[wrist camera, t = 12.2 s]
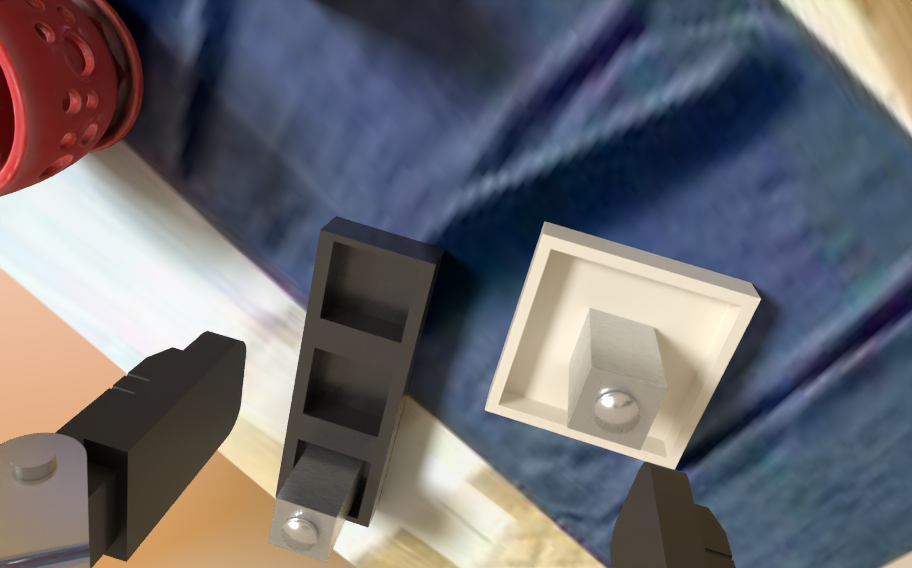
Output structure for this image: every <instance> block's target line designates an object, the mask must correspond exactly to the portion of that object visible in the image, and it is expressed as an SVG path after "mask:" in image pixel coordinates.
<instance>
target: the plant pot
mask: <svg viewBox="0 0 912 568" xmlns="http://www.w3.org/2000/svg"><path fill="white" fill-rule="evenodd" d="M142 98H143V71H142V64H141V60H140V56H139V53H138V49H137V46H136V44H135V41H134V39H133V37H132V35H131V33H130V31H129V30H128V28H127V26H126V25H125V23H124V22H123V20H122V19H121V17H120V16H119V15H118V13H117V12H116V11H115V10H114V9H113V7H112V6H111V5H110V4H109V3H108V2H107V1H106V0H0V196H4V195H7V194H10V193H13V192H16V191H18V190H21V189H24V188H26V187H29V186H32V185H34V184H37V183H39V182H41V181H43V180H46V179H48V178H50V177H52V176H53V175H55V174H57V173H59V172H61V171H62V170H64V169H66V168H67V167H69V166H71V165H72V164H74V163H76V162H77V161H78V160H79V159H81V158H82V157H83V156H84V155H86V154H87V153H88V152H95V151H99V150H103V149H105V148H108V147H110V146H112V145H114V144H115V143H117V142H118V141H120V140H121V139H122V138H123V137H124V136H125V135H126V134H127V133H128V132H129V130H130V129H131V128H132V126H133V124H134V123H135V121H136V119H137V116H138V114H139V112H140V108H141V104H142Z"/></svg>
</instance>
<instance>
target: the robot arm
mask: <svg viewBox="0 0 912 568" xmlns="http://www.w3.org/2000/svg"><path fill="white" fill-rule="evenodd" d="M245 359H246V345H245V343H244V342H243V341H240V340H236V339H233V338H230V337H226V336H223V335H219V334H216V333H213V332H209V331H206V332H204V333H203V334H201V335H200V336H199V337H198V338H197V339H196V340H194V341H193V342H192V343H191V344H190V345H189V346H188V347H187V348H185V349H184V350H179V349H176V348H173V347H172V348H170V349H167V350H165V351H162V352H160V353H157V354H155V355H152V356H149V357H147V358H146V359H144V360H143V361H142V362H141V363H139V364H138V365H137V366H136V367H135V368H133V369H132V370H131V371H130V372H129V373H128V375H127V376H124V377H122V378H121V379H120V380H119V381H118V382H116V383H115V384H114V385H113V388H112V389H110V388H109V389H108V390H107V391H105V392H104V393H103V394H102V395H101V396H99V397H98V398H97V399H96V400H94V401H93V402H92V403H91V404H90V405H88V406H87V407H86V408H85V409H83V410H82V411H81V412H80V413H79V414H77V416H75V417H74V418H73V419H71V420H70V421H69V422H68V423H67V424H65V425H64V426H63V427H62V428H61V429H59V430H58V431H57V432H56V433H36V434H29V435H24V436H20V437H17V438H14V439H11V440H9V441H6V442H4V443H2V444H0V568H92V567H93V566H94V565H95V563H96V562H97V561H98V560H99V559H100V558H101V557H102V555H103V554H104V555H107V556H110V557H113V558H116V559H120V560H123V561H127V560H128V559H129V558H130V557H131V556H132V554H133V553H134V552H135V551H136V549H137V548H138V547H139V546H140V544H141V543H142V542H143V541H144V540H145V538H146V537H147V536H148V534H149V533H150V532H151V531H152V530H153V528H154V527H155V526H156V525H157V523H158V522H159V521H160V520H161V518H162V517H163V516H164V515H165V513H166V512H167V511H168V510H169V508H170V507H171V506H172V504H174V502H175V501H176V500H177V499H178V497H179V496H180V495H181V494H182V492H183V491H184V490H185V489H186V487H187V486H188V485H189V484H190V482H191V481H192V480H193V479H194V478H195V476H196V475H197V474H198V472H199V471H200V470H201V469H202V467H203V466H204V465H205V464H206V463H207V461H208V460H209V459H210V458H211V456H212V455H213V454H214V453H215V451H216V450H217V449H218V448H219V447H220V445H221V444H222V443H223V442H224V440H225V439H226V438H227V437H228V435H229V434H230V432H231V431H232V429H233V427H234V425H235V422H236V420H237V417H238V414H239V411H240V406H241V397H242V387H243V378H244V368H245ZM611 568H735V564H734V561H733V560H732V553H731V550H730V546H729V543H728V539H727V536H726V532H725V531H724V529H723V528H722V526H721V525H720V524H719V522H718V521H717V519H716V518H715V517H714V515H713V514H712V512H711V511H710V509H709V508H707V507H703V506H700V505H697V504H694V501H693V497H692V493H691V488H690V484H689V480H688V477H687V475H686V473H684V472H680V471H677V470H674V469H670V468H667V467H663V466H660V465H657V464H653V463H650V462H644V463H643V464H642V466H641V467H640V469H639V471H638V474H637V476H636V478H635V480H634V483H633V485H632V487H631V489H630V491H629V494H628V496H627V498H626V500H625V503H624V505H623V507H622V509H621V512H620V514H619V516H618V518H617V521H616V524H615V527H614V531H613V535H612V541H611Z"/></svg>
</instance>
